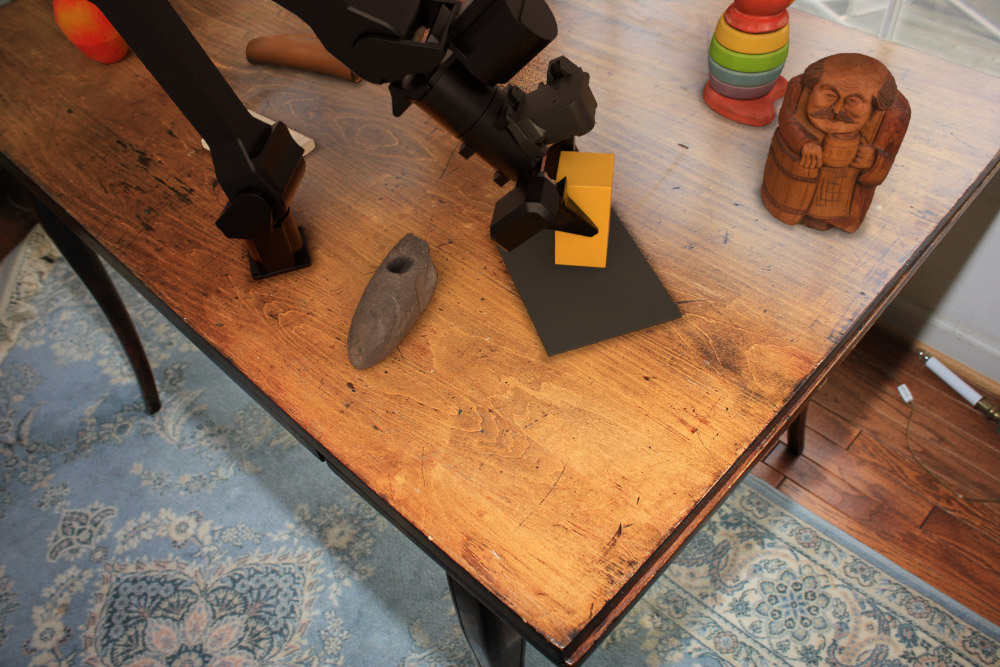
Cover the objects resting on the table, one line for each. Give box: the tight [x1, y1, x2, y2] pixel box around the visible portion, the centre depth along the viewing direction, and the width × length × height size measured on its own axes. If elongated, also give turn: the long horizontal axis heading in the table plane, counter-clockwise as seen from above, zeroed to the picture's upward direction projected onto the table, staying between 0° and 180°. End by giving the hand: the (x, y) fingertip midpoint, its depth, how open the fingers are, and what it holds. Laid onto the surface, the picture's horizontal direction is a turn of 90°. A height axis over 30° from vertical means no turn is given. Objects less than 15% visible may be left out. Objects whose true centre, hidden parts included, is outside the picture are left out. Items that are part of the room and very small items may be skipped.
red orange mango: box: [52, 0, 130, 65], centre depth 108 cm, size 9×9×12 cm
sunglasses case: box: [245, 33, 363, 84], centre depth 107 cm, size 18×7×7 cm
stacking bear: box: [702, 0, 796, 127], centre depth 89 cm, size 11×10×18 cm
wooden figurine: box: [760, 52, 912, 234], centre depth 75 cm, size 12×6×18 cm, turn 67°
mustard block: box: [554, 151, 616, 268], centre depth 71 cm, size 5×5×10 cm
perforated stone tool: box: [346, 232, 439, 371], centre depth 72 cm, size 15×5×7 cm, turn 155°
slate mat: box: [495, 206, 683, 358], centre depth 78 cm, size 18×14×1 cm
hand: (597, 215), depth 71 cm, fingers closed on mustard block, 5 cm apart
